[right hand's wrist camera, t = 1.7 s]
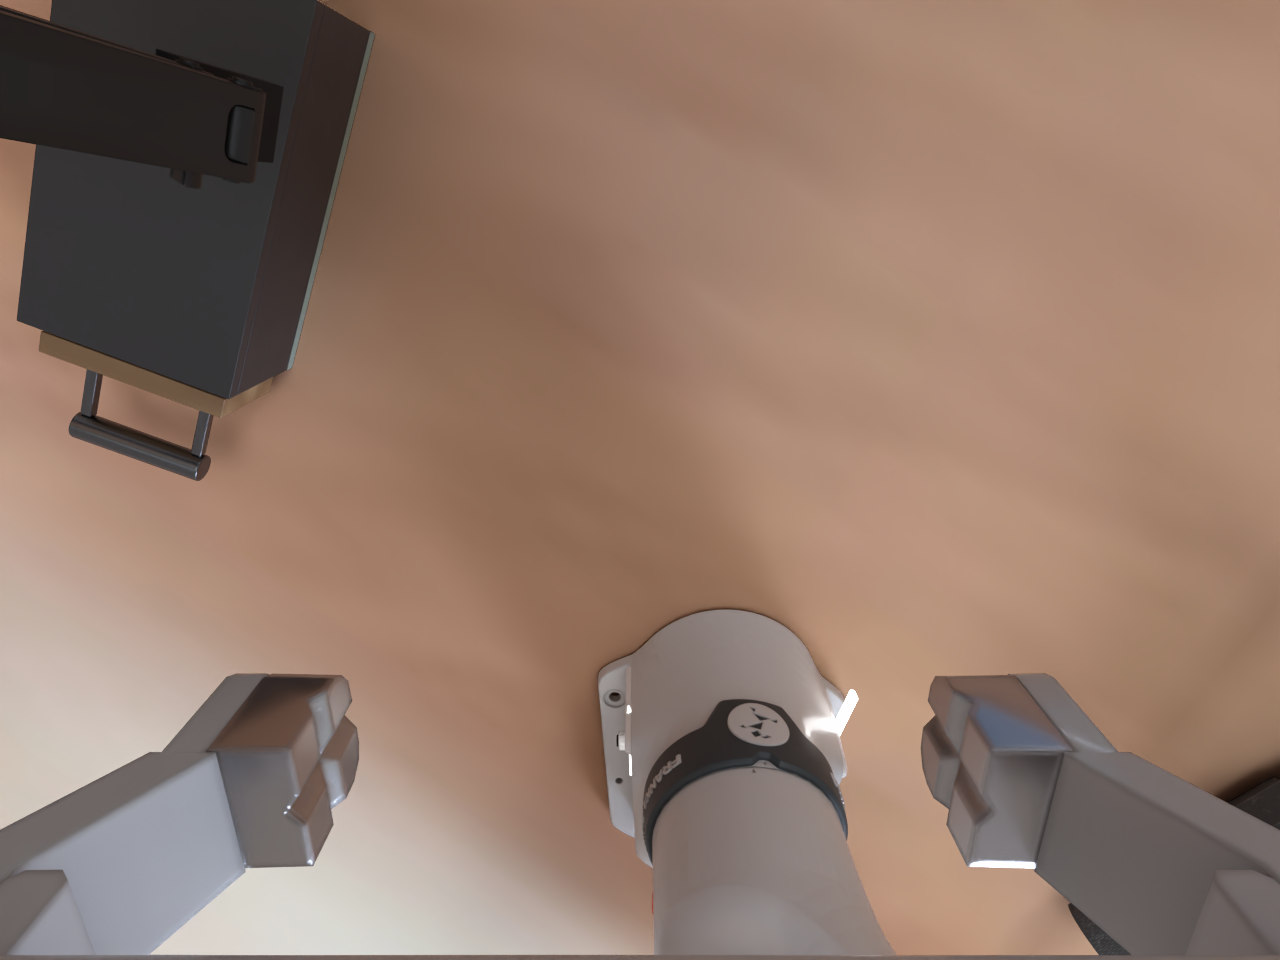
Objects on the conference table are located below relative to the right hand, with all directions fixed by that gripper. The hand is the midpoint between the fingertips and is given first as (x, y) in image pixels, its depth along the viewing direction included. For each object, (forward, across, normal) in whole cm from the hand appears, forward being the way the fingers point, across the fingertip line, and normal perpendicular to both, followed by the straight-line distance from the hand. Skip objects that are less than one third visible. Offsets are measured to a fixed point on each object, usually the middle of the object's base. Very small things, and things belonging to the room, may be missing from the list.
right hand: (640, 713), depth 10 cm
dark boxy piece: (+39, -24, +8) cm, 46 cm away
